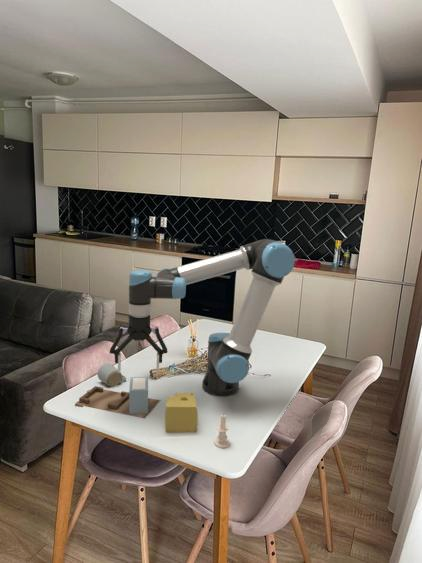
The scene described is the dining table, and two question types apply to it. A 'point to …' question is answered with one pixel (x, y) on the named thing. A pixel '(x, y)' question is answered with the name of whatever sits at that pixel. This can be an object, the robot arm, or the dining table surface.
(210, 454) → the dining table surface
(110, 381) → the ceramic mug
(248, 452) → the dining table surface
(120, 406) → the ledge board
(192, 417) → the cheese
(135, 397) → the pale blue block
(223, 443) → the chess piece
